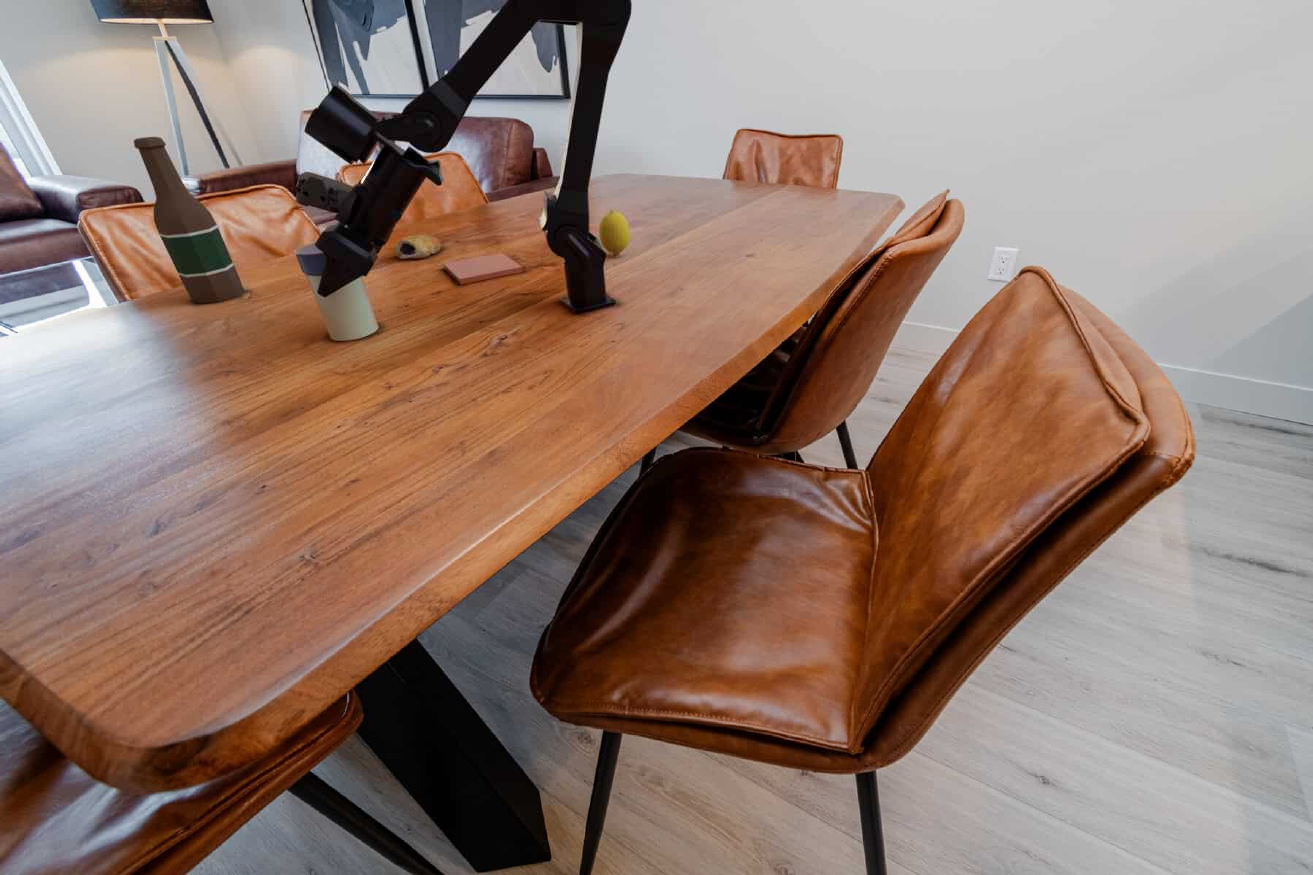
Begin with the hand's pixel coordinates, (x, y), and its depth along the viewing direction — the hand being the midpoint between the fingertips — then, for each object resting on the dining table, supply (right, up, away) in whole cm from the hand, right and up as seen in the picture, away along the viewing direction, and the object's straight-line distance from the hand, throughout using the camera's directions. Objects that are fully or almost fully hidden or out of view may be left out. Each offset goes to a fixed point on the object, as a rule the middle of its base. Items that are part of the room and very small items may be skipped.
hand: (327, 287), depth 80 cm
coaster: (+13, +9, +26) cm, 31 cm away
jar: (+2, -5, +4) cm, 7 cm away
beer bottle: (-30, +3, +21) cm, 36 cm away
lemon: (+37, +13, +30) cm, 49 cm away
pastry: (-2, +16, +37) cm, 41 cm away
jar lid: (+1, +4, -2) cm, 5 cm away
